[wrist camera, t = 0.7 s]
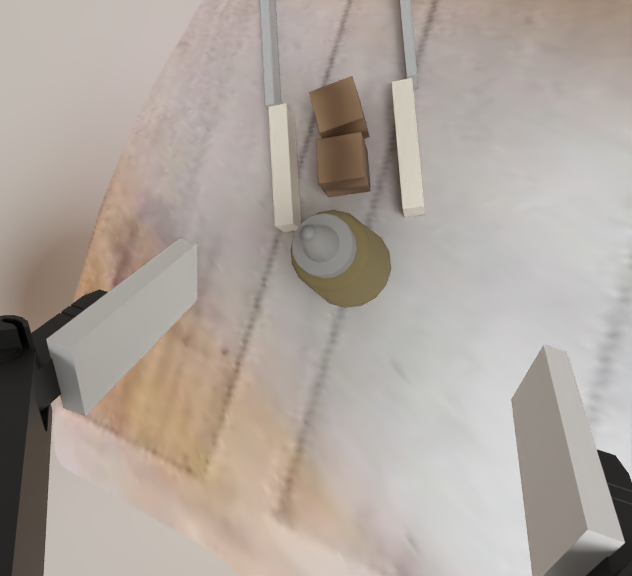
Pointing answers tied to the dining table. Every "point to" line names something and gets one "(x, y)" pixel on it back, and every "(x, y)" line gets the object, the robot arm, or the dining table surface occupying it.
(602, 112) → the dining table surface
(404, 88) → the slot rails
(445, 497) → the dining table surface
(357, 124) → the brown cube block
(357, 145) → the brown cubic block
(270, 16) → the grey flat u-shaped frame
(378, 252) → the squeeze bottle
